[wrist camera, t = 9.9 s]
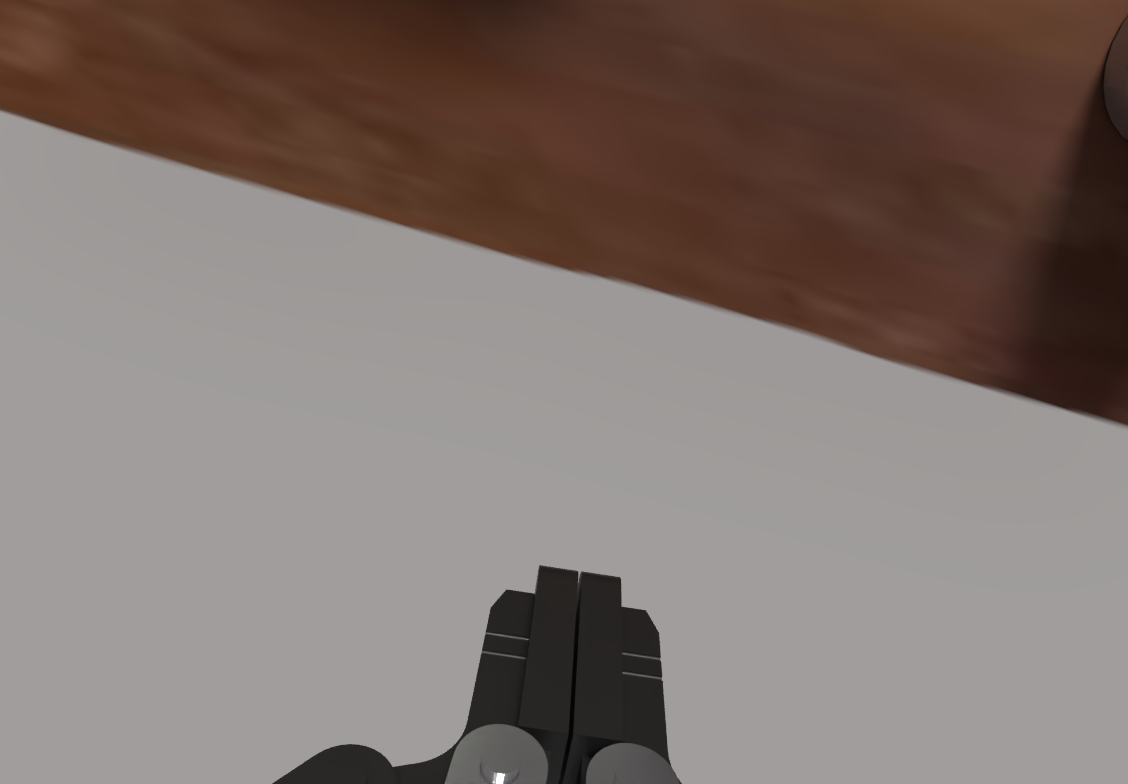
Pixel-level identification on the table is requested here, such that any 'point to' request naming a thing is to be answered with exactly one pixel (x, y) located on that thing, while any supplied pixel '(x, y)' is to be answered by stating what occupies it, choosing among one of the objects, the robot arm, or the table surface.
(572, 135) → the table surface
